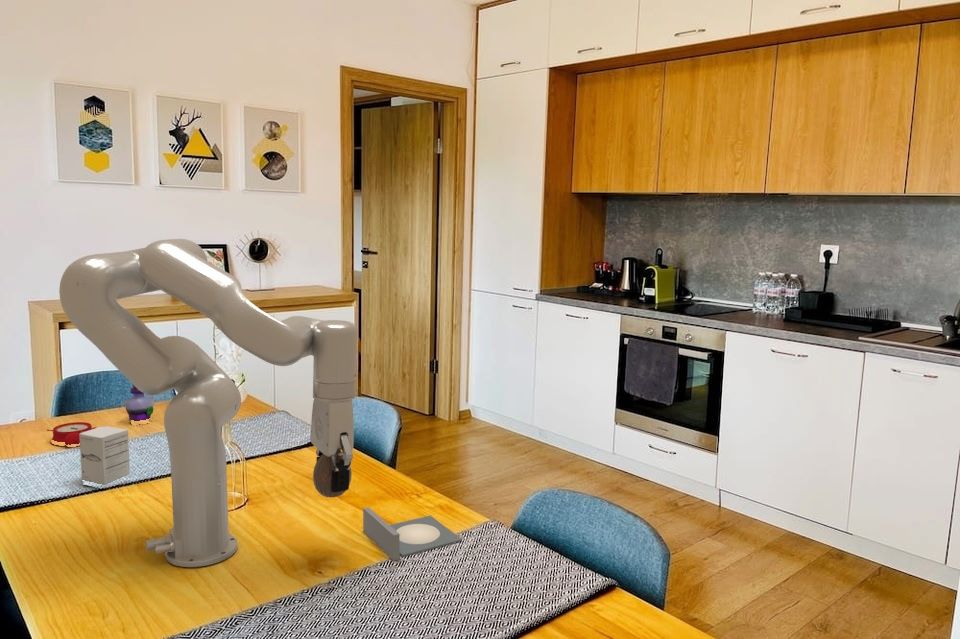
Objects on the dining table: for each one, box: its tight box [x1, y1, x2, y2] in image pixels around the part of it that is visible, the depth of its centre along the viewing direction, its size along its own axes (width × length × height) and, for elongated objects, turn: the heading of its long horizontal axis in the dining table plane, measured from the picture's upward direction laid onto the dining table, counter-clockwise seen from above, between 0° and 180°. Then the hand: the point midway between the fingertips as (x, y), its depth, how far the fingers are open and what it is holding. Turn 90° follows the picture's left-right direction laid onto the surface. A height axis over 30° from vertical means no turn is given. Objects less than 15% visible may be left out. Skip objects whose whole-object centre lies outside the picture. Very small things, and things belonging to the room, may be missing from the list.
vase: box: [312, 450, 352, 498], centre depth 129 cm, size 7×7×9 cm
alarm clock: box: [46, 421, 97, 445], centre depth 192 cm, size 10×6×15 cm
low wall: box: [362, 506, 400, 562], centre depth 136 cm, size 1×14×5 cm, turn 33°
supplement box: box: [79, 425, 131, 485], centre depth 163 cm, size 7×7×13 cm
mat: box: [389, 515, 463, 558], centre depth 140 cm, size 13×13×1 cm
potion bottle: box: [123, 384, 155, 421], centre depth 210 cm, size 9×9×12 cm
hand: (332, 482), depth 129 cm, fingers closed on vase, 6 cm apart
